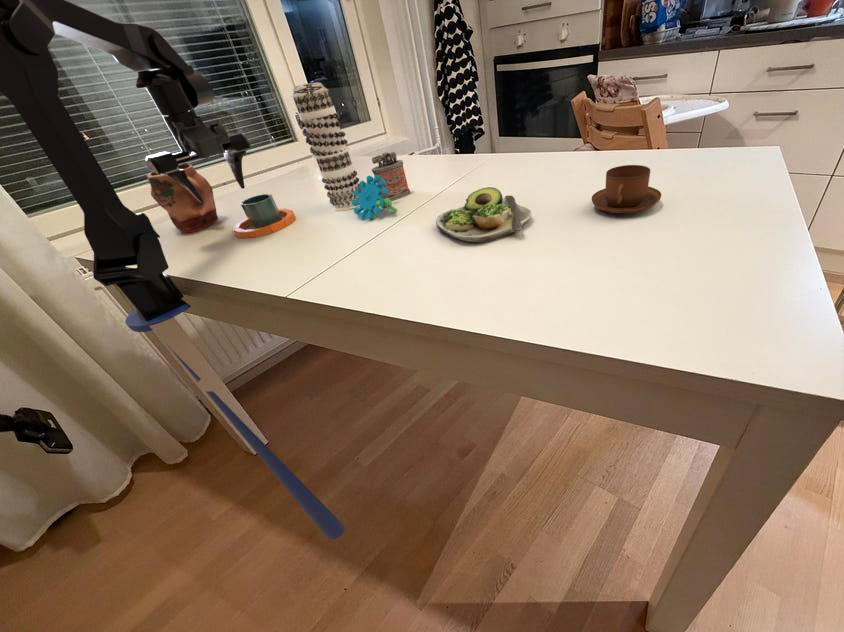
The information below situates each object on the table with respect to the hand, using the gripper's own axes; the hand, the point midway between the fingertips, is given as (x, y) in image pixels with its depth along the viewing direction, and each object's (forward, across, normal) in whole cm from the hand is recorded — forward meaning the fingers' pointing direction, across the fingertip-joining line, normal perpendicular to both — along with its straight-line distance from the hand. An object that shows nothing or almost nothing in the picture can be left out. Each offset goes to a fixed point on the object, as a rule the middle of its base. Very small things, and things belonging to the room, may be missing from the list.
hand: (223, 195), depth 86 cm
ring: (+9, +6, 0) cm, 11 cm away
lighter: (+9, +31, -19) cm, 38 cm away
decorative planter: (+9, -2, +20) cm, 22 cm away
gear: (+9, +21, -24) cm, 33 cm away
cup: (+9, +6, 0) cm, 11 cm away
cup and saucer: (+9, +42, -73) cm, 85 cm away
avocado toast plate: (+9, +26, -52) cm, 59 cm away
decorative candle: (+9, +23, -10) cm, 27 cm away
